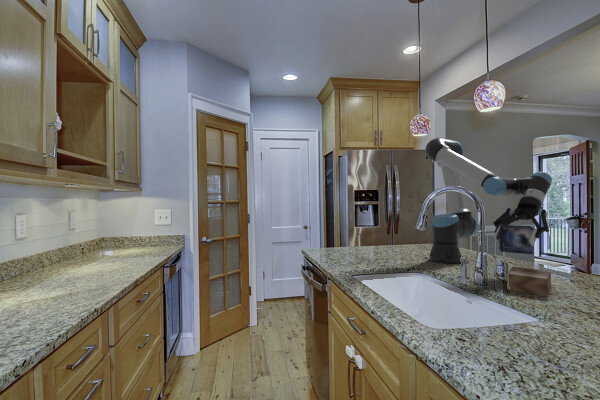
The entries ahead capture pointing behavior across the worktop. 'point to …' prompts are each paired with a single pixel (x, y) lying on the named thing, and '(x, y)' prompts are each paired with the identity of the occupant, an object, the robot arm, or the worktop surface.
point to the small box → (515, 239)
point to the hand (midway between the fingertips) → (512, 241)
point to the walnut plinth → (530, 280)
